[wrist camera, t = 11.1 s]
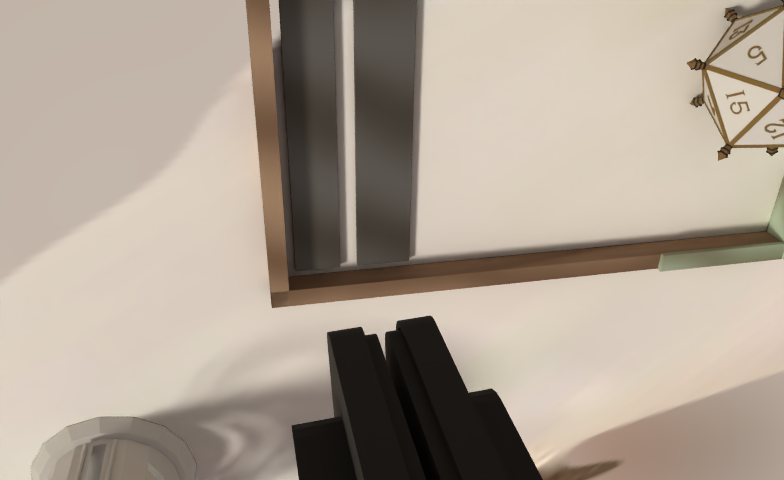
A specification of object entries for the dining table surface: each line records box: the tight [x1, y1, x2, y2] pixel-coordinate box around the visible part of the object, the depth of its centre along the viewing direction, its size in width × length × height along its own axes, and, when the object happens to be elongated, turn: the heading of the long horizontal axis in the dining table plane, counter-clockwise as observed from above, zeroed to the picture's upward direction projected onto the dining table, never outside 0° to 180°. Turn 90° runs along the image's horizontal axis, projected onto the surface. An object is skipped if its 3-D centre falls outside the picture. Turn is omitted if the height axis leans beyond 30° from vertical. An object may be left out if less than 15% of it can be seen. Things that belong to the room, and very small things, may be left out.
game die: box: [687, 0, 784, 161], centre depth 34 cm, size 9×8×10 cm
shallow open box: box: [246, 0, 784, 308], centre depth 35 cm, size 22×33×4 cm
